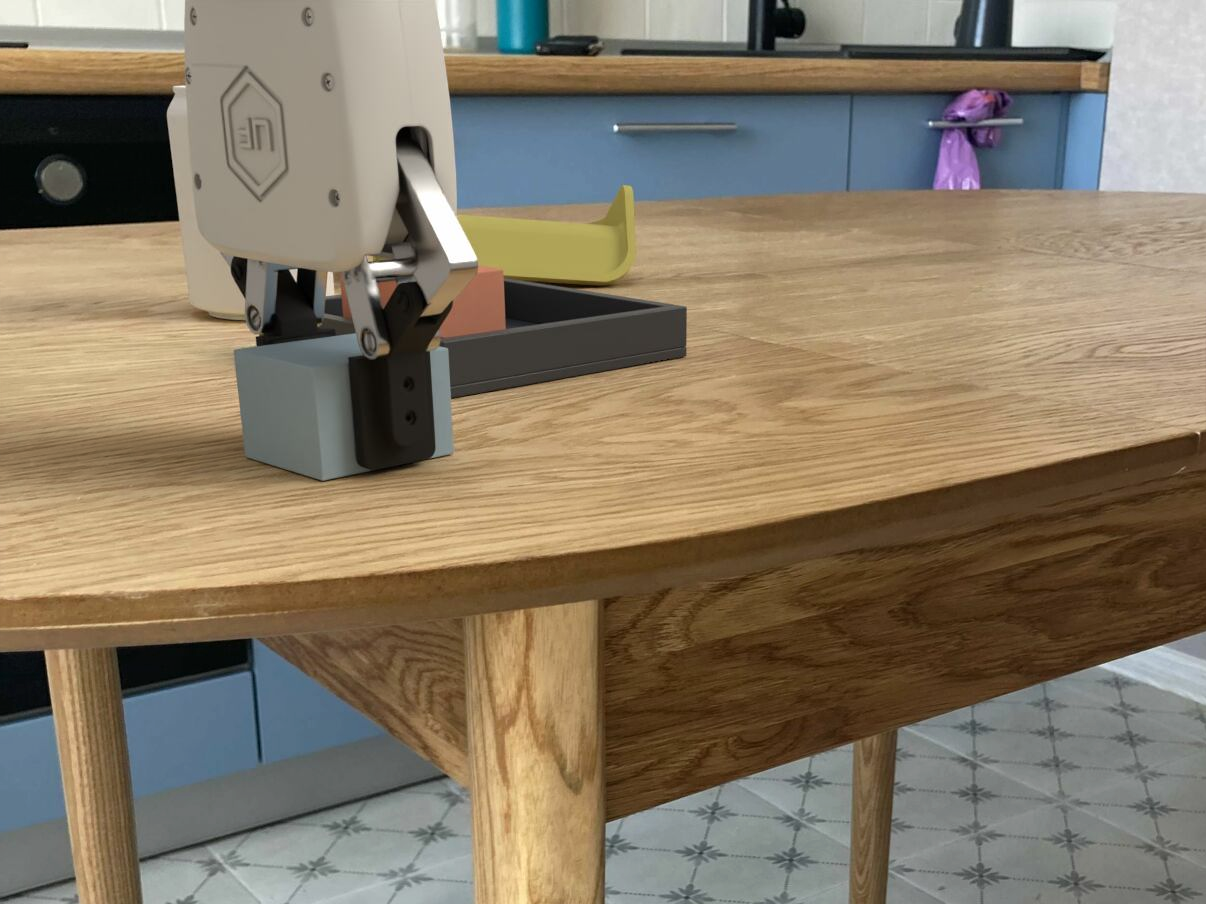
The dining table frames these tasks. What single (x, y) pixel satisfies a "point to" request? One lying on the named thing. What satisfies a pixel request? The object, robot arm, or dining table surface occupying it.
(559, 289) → the backing tray
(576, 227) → the plastic component
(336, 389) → the slate blue box block
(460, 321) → the coral box block
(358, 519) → the dining table surface
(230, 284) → the beverage can
